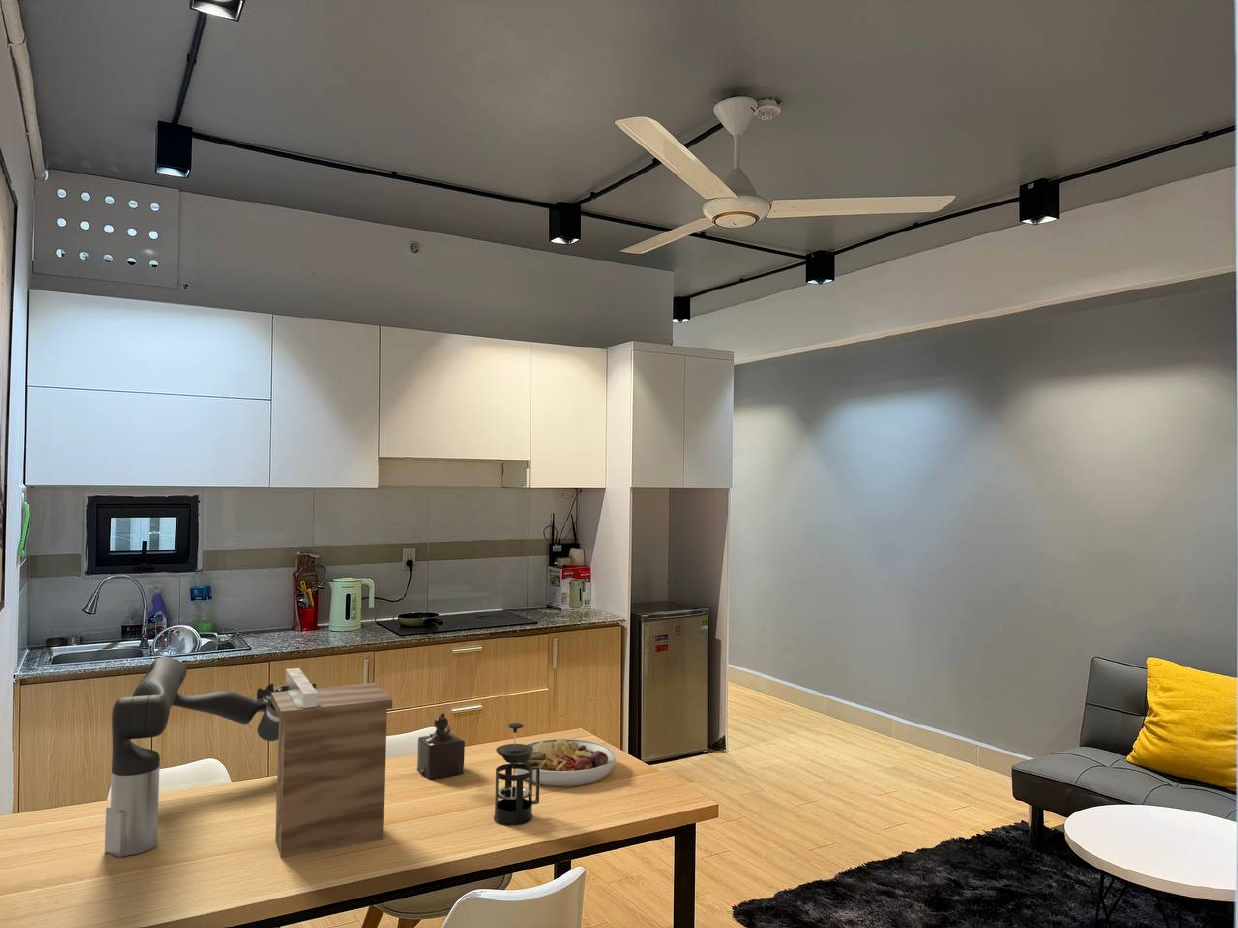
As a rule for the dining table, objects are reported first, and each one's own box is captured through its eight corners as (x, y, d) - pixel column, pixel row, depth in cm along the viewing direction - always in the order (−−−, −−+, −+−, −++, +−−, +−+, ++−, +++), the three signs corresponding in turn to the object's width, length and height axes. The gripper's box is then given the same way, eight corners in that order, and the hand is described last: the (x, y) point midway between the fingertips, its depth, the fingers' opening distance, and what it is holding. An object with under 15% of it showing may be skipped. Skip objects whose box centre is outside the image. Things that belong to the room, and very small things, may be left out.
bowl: (489, 777, 234) (490, 749, 234) (547, 749, 260) (548, 723, 260) (581, 798, 220) (582, 768, 220) (632, 765, 246) (633, 738, 246)
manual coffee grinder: (413, 770, 238) (415, 707, 238) (449, 763, 244) (451, 701, 245) (435, 786, 225) (437, 719, 226) (472, 779, 231) (474, 714, 232)
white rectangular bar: (317, 706, 184) (317, 692, 184) (303, 707, 182) (303, 694, 183) (298, 679, 208) (299, 667, 209) (285, 681, 207) (286, 668, 207)
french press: (498, 828, 198) (500, 731, 199) (486, 814, 207) (488, 721, 207) (544, 821, 203) (546, 726, 204) (531, 807, 212) (533, 716, 212)
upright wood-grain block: (388, 839, 191) (392, 698, 192) (276, 860, 179) (281, 710, 180) (371, 812, 207) (374, 682, 208) (267, 829, 195) (271, 691, 196)
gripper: (252, 693, 222) (259, 673, 209) (309, 687, 228) (318, 668, 216) (253, 721, 218) (260, 702, 206) (310, 714, 225) (320, 696, 213)
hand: (290, 685), depth 211 cm, fingers open, 8 cm apart
